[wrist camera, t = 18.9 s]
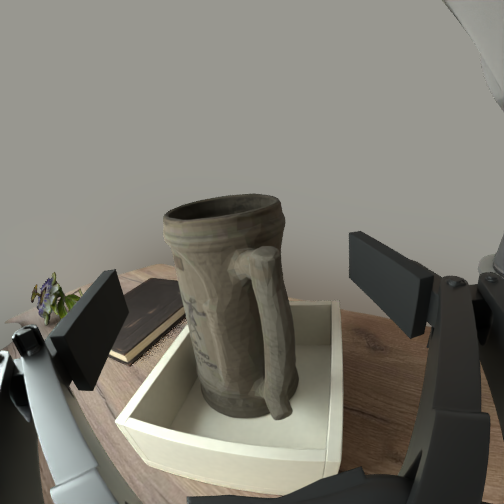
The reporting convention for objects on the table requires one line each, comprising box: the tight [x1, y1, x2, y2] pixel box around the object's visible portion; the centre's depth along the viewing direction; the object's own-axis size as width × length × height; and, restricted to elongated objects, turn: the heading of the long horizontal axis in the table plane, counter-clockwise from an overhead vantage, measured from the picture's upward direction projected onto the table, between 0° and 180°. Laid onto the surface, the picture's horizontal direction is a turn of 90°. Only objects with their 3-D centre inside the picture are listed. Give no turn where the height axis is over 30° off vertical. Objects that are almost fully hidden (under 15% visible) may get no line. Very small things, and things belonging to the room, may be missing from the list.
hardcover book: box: [108, 278, 186, 366], centre depth 48 cm, size 16×23×2 cm
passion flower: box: [31, 272, 83, 325], centre depth 49 cm, size 11×11×12 cm
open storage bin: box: [115, 300, 343, 495], centre depth 26 cm, size 17×21×8 cm
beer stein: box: [163, 194, 299, 420], centre depth 24 cm, size 15×11×20 cm
